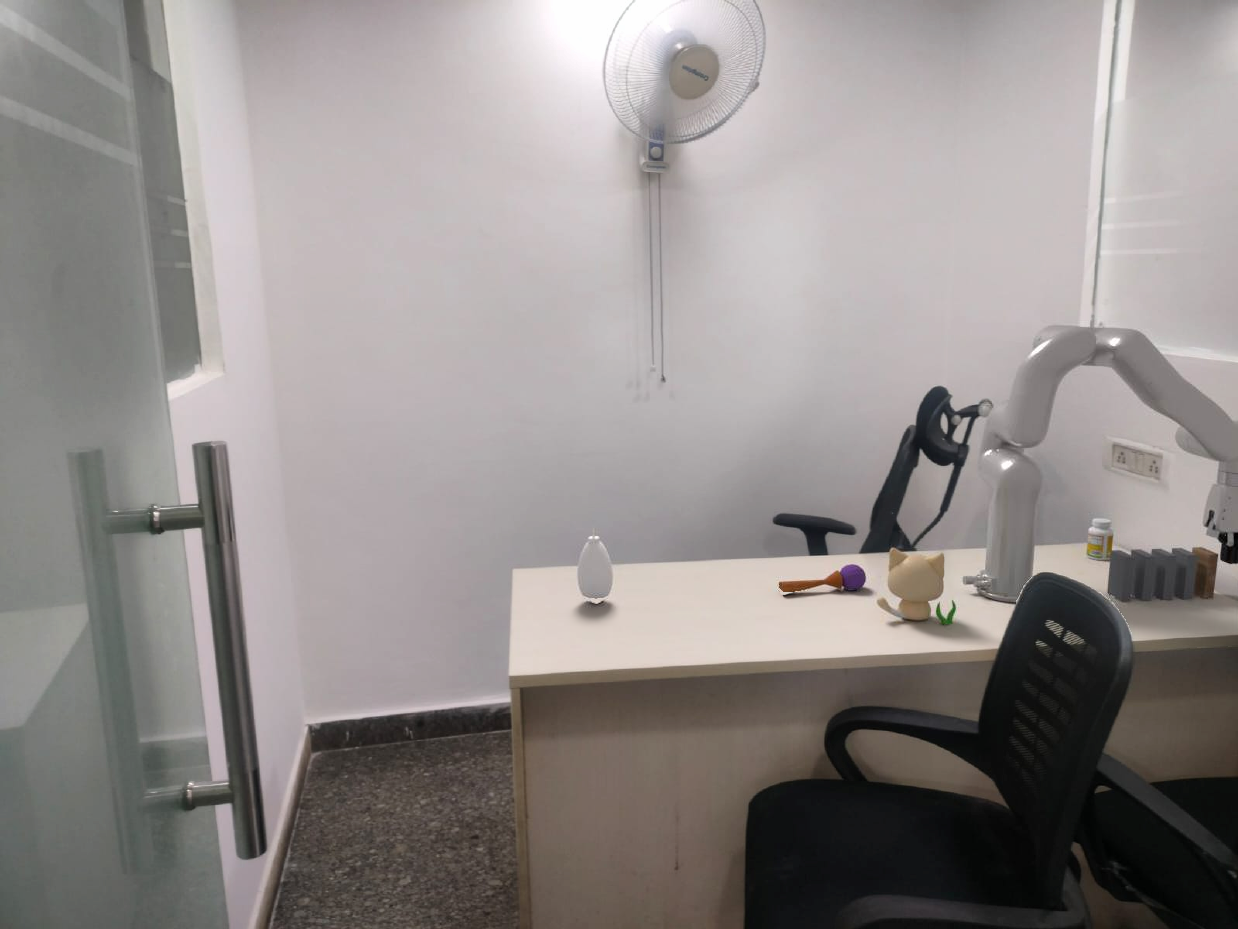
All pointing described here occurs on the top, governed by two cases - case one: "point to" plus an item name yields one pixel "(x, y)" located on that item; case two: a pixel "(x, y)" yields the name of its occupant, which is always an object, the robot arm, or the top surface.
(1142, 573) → the domino
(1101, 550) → the supplement bottle
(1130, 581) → the domino
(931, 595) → the kitten
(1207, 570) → the domino
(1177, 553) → the domino
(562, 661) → the top surface
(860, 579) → the kendama
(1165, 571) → the domino
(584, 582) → the white tall oval piece
